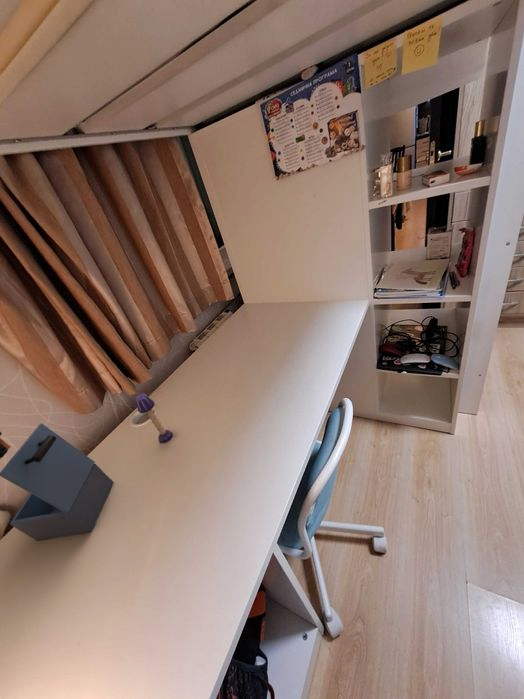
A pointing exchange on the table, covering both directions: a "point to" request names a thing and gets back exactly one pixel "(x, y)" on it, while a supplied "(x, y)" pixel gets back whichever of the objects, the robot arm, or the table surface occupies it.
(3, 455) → the robot arm
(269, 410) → the table surface
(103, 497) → the blue storage chest
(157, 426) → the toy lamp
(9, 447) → the block
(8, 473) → the lid
